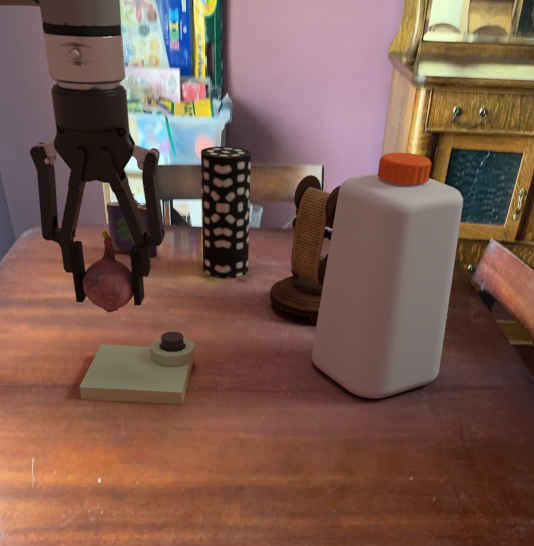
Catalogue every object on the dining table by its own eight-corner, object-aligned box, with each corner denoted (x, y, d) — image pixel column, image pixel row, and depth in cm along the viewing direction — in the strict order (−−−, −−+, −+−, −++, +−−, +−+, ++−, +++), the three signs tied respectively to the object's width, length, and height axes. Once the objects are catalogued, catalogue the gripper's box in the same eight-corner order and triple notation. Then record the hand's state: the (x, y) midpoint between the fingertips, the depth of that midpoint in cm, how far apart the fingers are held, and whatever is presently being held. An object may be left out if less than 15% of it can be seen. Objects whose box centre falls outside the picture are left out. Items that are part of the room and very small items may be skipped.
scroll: (251, 303, 113) (255, 176, 101) (314, 283, 121) (324, 163, 109) (313, 334, 104) (325, 200, 92) (376, 311, 112) (395, 184, 100)
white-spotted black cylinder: (194, 267, 125) (191, 149, 113) (229, 258, 129) (230, 144, 117) (221, 281, 120) (220, 160, 108) (257, 271, 124) (261, 154, 112)
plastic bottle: (449, 382, 94) (500, 166, 77) (364, 408, 87) (398, 179, 70) (380, 338, 104) (412, 139, 87) (299, 359, 97) (316, 148, 81)
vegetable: (148, 312, 85) (142, 231, 79) (112, 328, 80) (104, 245, 74) (112, 299, 87) (104, 220, 81) (76, 315, 83) (65, 233, 77)
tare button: (159, 352, 91) (159, 340, 90) (163, 342, 93) (162, 330, 92) (182, 353, 91) (181, 341, 90) (185, 343, 93) (184, 331, 92)
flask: (108, 252, 129) (103, 193, 122) (115, 247, 131) (110, 189, 125) (154, 258, 127) (151, 199, 121) (160, 253, 130) (157, 195, 123)
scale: (80, 399, 86) (77, 375, 84) (103, 354, 96) (100, 332, 94) (185, 405, 86) (185, 381, 84) (197, 359, 96) (196, 337, 94)
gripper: (-20, 83, 66) (22, 307, 80) (177, 93, 66) (185, 316, 80) (6, 73, 72) (41, 283, 86) (187, 83, 72) (193, 291, 86)
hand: (110, 299), depth 83 cm, fingers closed on vegetable, 6 cm apart
